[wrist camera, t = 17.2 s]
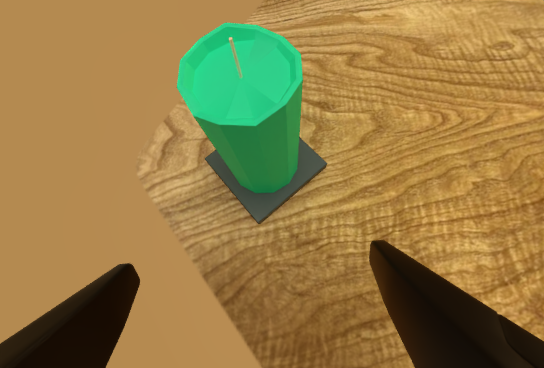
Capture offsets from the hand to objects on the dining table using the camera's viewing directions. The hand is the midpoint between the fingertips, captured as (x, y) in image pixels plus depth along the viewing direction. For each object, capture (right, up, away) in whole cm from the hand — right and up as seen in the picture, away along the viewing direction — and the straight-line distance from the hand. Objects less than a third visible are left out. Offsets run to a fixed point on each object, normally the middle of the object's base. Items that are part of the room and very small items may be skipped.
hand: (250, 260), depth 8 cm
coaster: (0, +5, +13) cm, 14 cm away
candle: (0, +5, +12) cm, 13 cm away
